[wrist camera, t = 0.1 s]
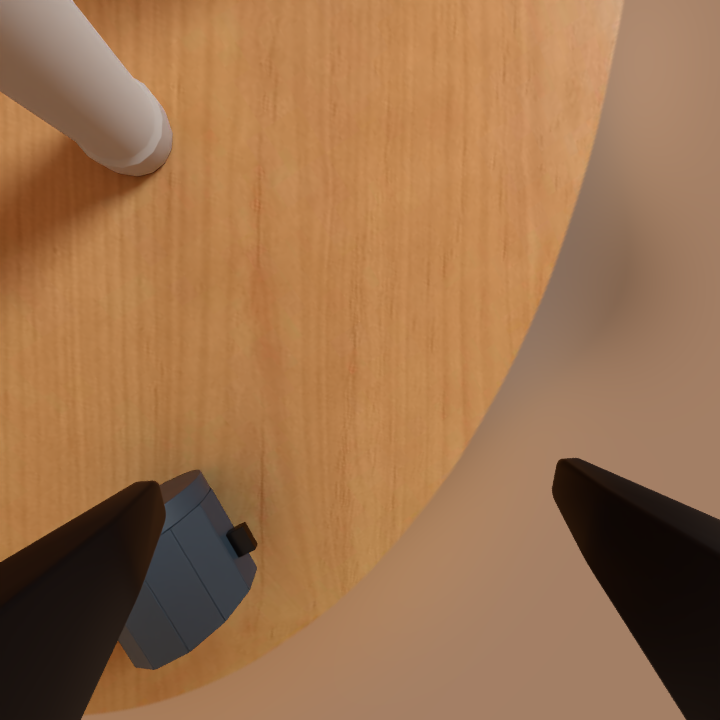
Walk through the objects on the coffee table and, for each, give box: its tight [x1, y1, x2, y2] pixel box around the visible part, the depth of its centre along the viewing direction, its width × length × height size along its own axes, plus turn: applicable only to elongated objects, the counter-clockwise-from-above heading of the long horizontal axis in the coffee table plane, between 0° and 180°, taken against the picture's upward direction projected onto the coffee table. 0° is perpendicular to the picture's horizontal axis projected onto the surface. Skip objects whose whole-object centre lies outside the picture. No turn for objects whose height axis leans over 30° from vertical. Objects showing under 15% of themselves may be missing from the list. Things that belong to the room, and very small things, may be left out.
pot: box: [118, 470, 257, 670], centre depth 21 cm, size 7×9×7 cm
